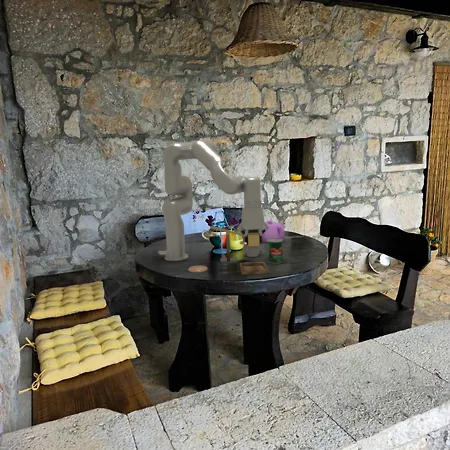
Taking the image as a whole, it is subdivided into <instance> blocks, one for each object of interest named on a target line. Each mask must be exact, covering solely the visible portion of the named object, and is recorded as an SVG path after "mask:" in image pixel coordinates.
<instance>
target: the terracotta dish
mask: <svg viewBox="0 0 450 450" xmlns="http://www.w3.org/2000/svg"><path fill="white" fill-rule="evenodd" d="M206 271H208V267H207V266H206V265H193V266H190V267H188V272H190V273H204V272H206Z"/></svg>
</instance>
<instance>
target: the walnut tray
mask: <svg viewBox="0 0 450 450" xmlns="http://www.w3.org/2000/svg"><path fill="white" fill-rule="evenodd" d="M239 269H240V274H241V276H244V275H246V276H247V275H268V274H269V268H268V267H267V264H266V262H265V261H256V262H255V261H252V262H251V261H249V262H239Z"/></svg>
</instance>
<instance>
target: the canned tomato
mask: <svg viewBox="0 0 450 450" xmlns="http://www.w3.org/2000/svg"><path fill="white" fill-rule="evenodd" d="M283 247H284V240H283V239H280V238H270V239H267V243H266V262H267V263H268V264H271V265H272V264H281V263H283V262H284V261H283V260H284V248H283Z"/></svg>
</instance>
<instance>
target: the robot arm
mask: <svg viewBox="0 0 450 450" xmlns="http://www.w3.org/2000/svg"><path fill="white" fill-rule="evenodd" d="M162 160H163V167H164V169H163V170H164V171H163V173H164V191H165V193H166V194H167V195H168V196H170V197H171V198H168V199H167V200H165V201H164V202H163V204H162V206H161V208H162V213H163V218H164V225H165V239H166V241H165V242H166V243H165V244H166V249H165V250H158V255H160V256H164V261H168V262H181V261H184V260H185V261H186V260H187V259H188V258H189V254H188V253H186V240H185V238H186V237H185V225H184V224H185V223H184V221H183V218H182V215H183V216H184V215H186V214H189V213H190V212H191V211H192V209H193V204H194V202H193V200H194V199H193V197H194V195H193V191H194V190H193V189H194V188H193V182H192V181H191V178H190V177H188V176H187V175H182V167H181V163H180V162H179V161H184V160H185V161H187V160H197V161H198V162H200V163H201V164H202V165H203V166H204V168H206V169H207V170H208V171H209V174H210V176H211V178H212V181H213V182H214V183H215V185H216V186H217V188H219V189H220V190H221V191H223V192H224V193H225V194H227V195H230V196H231V195H235V194H242V193H243V206H244V207H242V209H241V210H242V211H241V222H240V224H239V225H238V227H237V228H236V230H237V232H239V233H242V234H243V235H244V236H243V237H245V243H246V244H247V245H248V235H247V234H248V230H258V231H259V244H260V245H261V243H263V242H262V235H263V234H264V233H265V232H266V231H267V230H268V229H269V227H268V225H267V224H266V223H265V222H266V221H265V217H264V209H263V205H265V201H262V200H261V199H262V195H261V194H262V193H261V190H262V189H261V187H262V186H261V179H260V177H258V176H249V177H248V176H242V175H239V176H233V177H231V176H230V174H228V173H227V172H226V171H225V170H224V169H223V167H222V166H223V164H224V158H223V157H222V156H221V155H220V154H218V146H217V144H216V143H215V142H214V141H213V140H210V139H199V140H195V141H187V142H185V141H183V142H182V141H181V142H173V143H171V144H168V145H167V146H166V147H165V148H164V150H163V153H162ZM172 196H176V197H172ZM264 226H265V228H264ZM263 228H264V229H263ZM261 229H263V230H262V231H261ZM243 230H245V232H244V231H243Z"/></svg>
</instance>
